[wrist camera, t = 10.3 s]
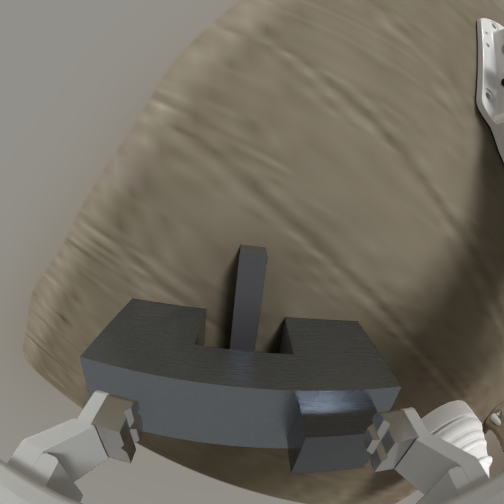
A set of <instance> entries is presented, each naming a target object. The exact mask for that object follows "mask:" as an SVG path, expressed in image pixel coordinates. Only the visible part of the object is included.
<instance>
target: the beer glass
mask: <svg viewBox="0 0 504 504" xmlns="http://www.w3.org/2000/svg"><path fill="white" fill-rule="evenodd" d="M485 426H486V427H487V428H489V429H490V430H491V431H492V432H493V433H494V434H495V435H496V437H497V439H498V441H499V443H500V446H501V448H502V450H503V452H504V402H502V403H501V404H499V405H498V406H497V407H496V408H495V409H494V410H493V411H492V412H491V413H490V415H489V416H488V418H487V419H486V421H485Z"/></svg>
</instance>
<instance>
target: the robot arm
mask: <svg viewBox="0 0 504 504" xmlns="http://www.w3.org/2000/svg"><path fill="white" fill-rule="evenodd" d="M477 33H478V79H477V95H476V103H477V106H478V109H479V111H480V112H481V114H482V116H483V117H484V119H485V120H486V122H487V123H488V125H489V126H490V128H491V130H492V133H493V135H494V138H495V141H496V144H497V147H498V150H499V152H500V155H501V157H502V160H503V162H504V27H503V26H501V25H500V24H498V23H496V22H494V21H492V20H490V19H486V18H481V19H478V20H477ZM139 408H140V407H139V403H138V401H136V400H132V399H128V398H125V397H121V396H117V395H114V394H110V393H106V392H103V391H100V390H97V391H95V392H94V393H93V395H92V396H91V398H90V399H89V401H88V402H87V404H86V406H85V407H84V409H83V410H82V412H81V414H80V415H79V417H78V418H77V419H71V420H68V421H66V422H64V423H62V424H59V425H57V426H55V427H52V428H50V429H48V430H45V431H43V432H41V433H38V434H36V435H33V436H31V437H28V438H26V439H23V441H22V442H21V444H20V445H19V446H18V448H17V449H16V451H15V452H14V454H13V455H12V457H11V458H10V460H9V461H8V463H6V462H4V461H3V460H1V459H0V504H82V503H80V502H81V499H82V497H83V495H82V493H81V491H80V490H79V489H78V487H77V486H76V485H75V484H74V481H76V480H77V479H79V478H81V477H82V476H84V475H85V474H86V473H88V472H89V471H91V470H92V469H93V468H95V467H96V466H98V465H100V464H101V463H102V462H104V461H105V460H107V459H108V457H110V458H114V459H117V460H121V461H124V462H128V463H131V461H132V459H133V456H134V453H135V451H136V448H135V445H134V443H136V442H137V441H139V440H140V437H141V434H142V428H143V421H142V416H141V415H140V414H139V413H138V411H139ZM372 421H373V424H372V425H371V426H369V427H368V428H367V430H366V432H365V437H364V444H365V447H366V450H367V451H368V452H370V453H371V454H372V455H371V457H370V461H371V464H372V467H373V469H374V472H378V471H384V470H389V469H394V468H395V469H394V470H396V471H397V472H398V473H399V474H400V475H401V476H403V477H404V478H405V479H406V480H407V481H409V482H410V483H411V484H412V485H414V486H415V487H416V488H417V489H418V490H420V491H421V492H422V493H424V494H425V495H424V496H423V497H422V498H421V499H420V500H419V501H418V502H417V503H416V504H504V470H502V471H501V472H499V473H498V474H496V475H495V476H493V477H491V478H489V477H488V475H487V474H486V472H485V470H484V469H483V467H482V465H481V464H480V462H479V461H478V459H477V457H475V456H473V455H471V454H469V453H467V452H465V451H463V450H462V449H460V448H458V447H456V446H454V445H452V444H450V443H448V442H447V441H445V440H443V439H441V438H439V437H437V436H436V435H434V434H433V435H430V433H429V432H428V430H427V428H426V427H425V425H424V423H423V422H422V420H421V418H420V417H419V415H418V413H417V412H416V410H415V409H414V408H413V407H410V408H404V409H397V410H391V411H384V412H377V413H376V414H375V415H374V416H373V418H372Z"/></svg>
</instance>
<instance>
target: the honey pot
mask: <svg viewBox="0 0 504 504" xmlns="http://www.w3.org/2000/svg"><path fill="white" fill-rule="evenodd" d="M421 420H422V422H423V423H424V425H425V427H426V428H427V430H428V432H429V433H430V435H433V434H434V435H436V436H437V437H439V438H441V439H443V440H445V441H447V442H448V443H450V444H452V445H454V446H456V447H458V448H460V449H462V450H463V451H465V452H467V453H469V454H471V455H473V456H475V457H477V459H478V461H479V462H480V464H481V465H482V467H483V469H484V470H485V472H486V474H487V475H488V477H489V467H490V465H491V463H492V457H490V456H488V455H487V450H486V446H487V443H486V440H484V433H483V432H482V424H481V421H479V420H478V418H477V417H476V415H475V414H474V412H473V411H472V410H471V409H470V407H469V406H468V405H467V404H466V403H465V402H464V401H460V400H456V401H452V402H448V403H446V404H444V405H442V406H440V407H438V408H436V409H435V410H433V411H431V412H430V413H429V414H427V415H426V416H424V417H423V418H422V419H421Z"/></svg>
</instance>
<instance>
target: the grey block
mask: <svg viewBox="0 0 504 504" xmlns="http://www.w3.org/2000/svg"><path fill="white" fill-rule="evenodd" d="M205 322H206V309H201V308H193V307H185V306H178V305H171V304H164V303H157V302H151V301H144V300H138V299H132V300H131V301H130V302H129V303H128V304H127V305H126V306H125V307H124V308H123V309H122V310H121V311H120V312H119V313H118V315H117V316H116V317H115V318H114V319H113V320H112V321H111V322H110V323H109V324H108V326H107V327H106V328H105V329H104V330H103V331H102V332H101V333H100V334H99V336H98V337H97V338H96V339H95V340H94V341H93V342H92V343H91V345H90V346H89V347H88V348H87V349H86V350H85V351H84V353H83V354H82V355H81V356H80V359H81V363H82V368H83V372H84V376H85V380H86V384H87V387H88V391H89V395H90V398H91V396H92V395H93V393H94V392H95V391H97V390H100V391H103V392H106V393H110V394H114V395H117V396H121V397H125V398H128V399H132V400H136V401H138V403H139V407H140V408H139V411H138V413H139V414H140V415H141V416H142V421H143V428H142V431H143V432H148V433H152V434H157V435H161V436H166V437H172V438H177V439H183V440H189V441H195V442H202V443H210V444H218V445H228V446H239V447H254V448H288V453H289V461H290V469H291V473H313V472H327V471H337V470H346V469H354V468H361V467H364V466H365V464H366V463H367V461H368V460H369V458H370V457H371V455H372V454H371V453H370V452H368V451H367V450H366V447H365V444H364V437H365V432H366V430H367V428H368V427H369V426H371V425H372V424H373V421H372V418H373V416H374V415H375V414H376V413H377V412H384V411H390V409H391V407H392V406H393V404H394V402H395V400H396V397H397V395H398V393H399V391H400V389H401V387H402V386H401V385H400V383H399V381H398V380H397V378H396V377H395V375H394V374H393V372H392V371H391V369H390V368H389V366H388V365H387V363H386V362H385V360H384V359H383V358H382V356H381V355H380V353H379V352H378V350H377V349H376V347H375V346H374V344H373V343H372V341H371V340H370V339H369V337H368V336H367V334H366V333H365V331H364V330H363V329H362V327H361V326H360V324H359V323H358V321H337V320H319V319H303V318H289V317H285V321H284V327H283V332H282V338H281V343H280V348H279V354H277V353H263V352H251V351H241V350H231V349H222V348H213V347H205V346H204V343H205Z"/></svg>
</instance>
